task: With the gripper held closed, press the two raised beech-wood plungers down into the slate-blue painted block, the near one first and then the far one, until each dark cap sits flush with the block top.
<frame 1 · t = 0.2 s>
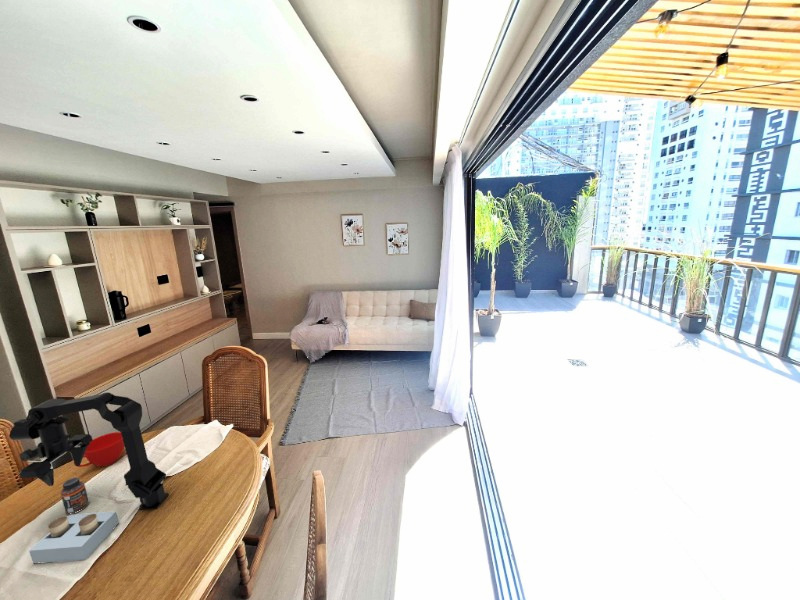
hand: (65, 475, 107), 14 cm above the table, fingers open, 9 cm apart
block: (79, 542, 97), on the table
plunger far: (59, 527, 96), point 6 cm above the table, slide at 3.5 cm
plunger near: (89, 524, 96), point 6 cm above the table, slide at 3.5 cm
supplement bottle: (78, 508, 110), on the table
ceramic cup: (103, 464, 132), on the table
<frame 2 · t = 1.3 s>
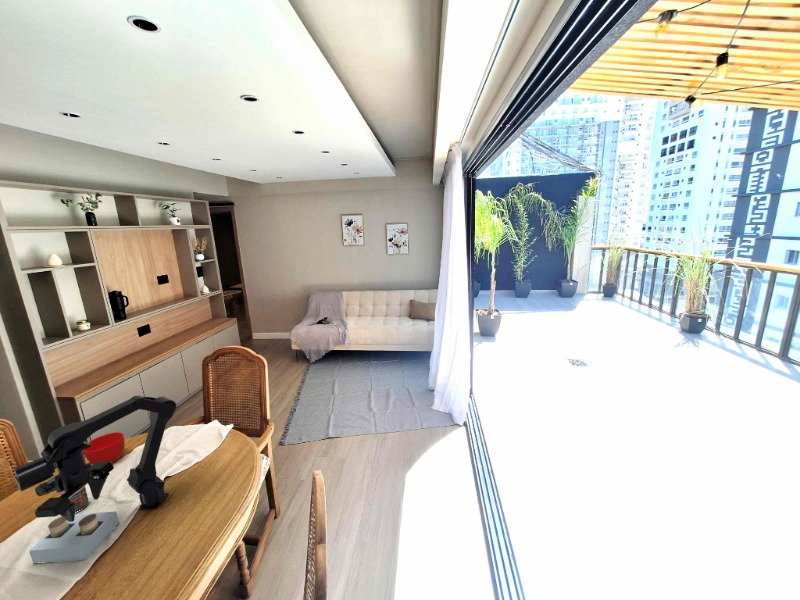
hand: (84, 509, 95), 12 cm above the table, fingers open, 8 cm apart
nothing on the table moved.
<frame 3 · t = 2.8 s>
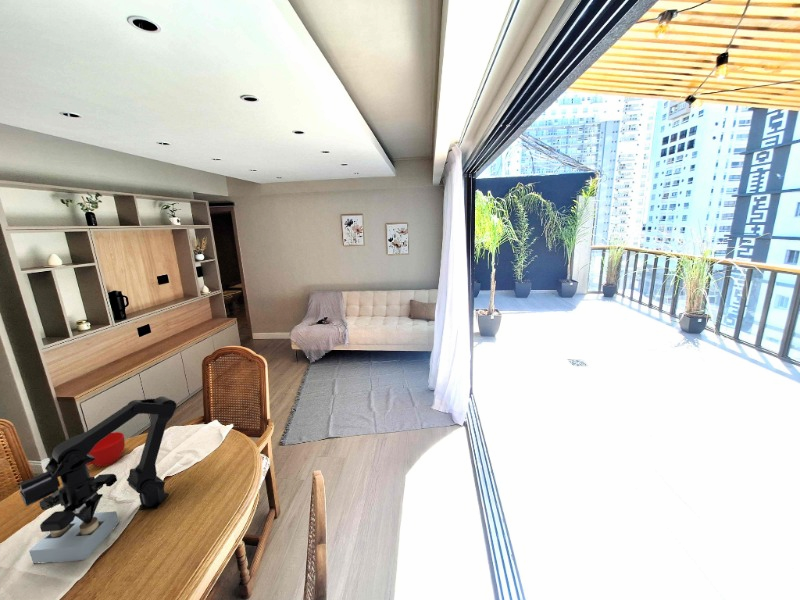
hand: (88, 522, 96), 7 cm above the table, fingers closed, pressing on plunger near
plunger near: (89, 527, 96), point 5 cm above the table, slide at 2.3 cm, touching gripper
everything else where it was.
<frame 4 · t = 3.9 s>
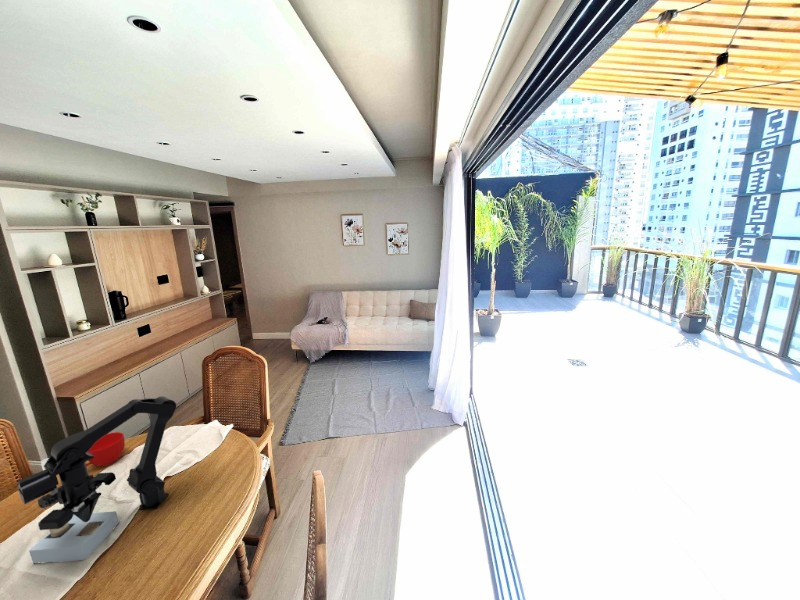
hand: (86, 521, 96), 8 cm above the table, fingers closed
plunger near: (91, 533, 97), point 3 cm above the table, slide at 0.3 cm
everything else where it was.
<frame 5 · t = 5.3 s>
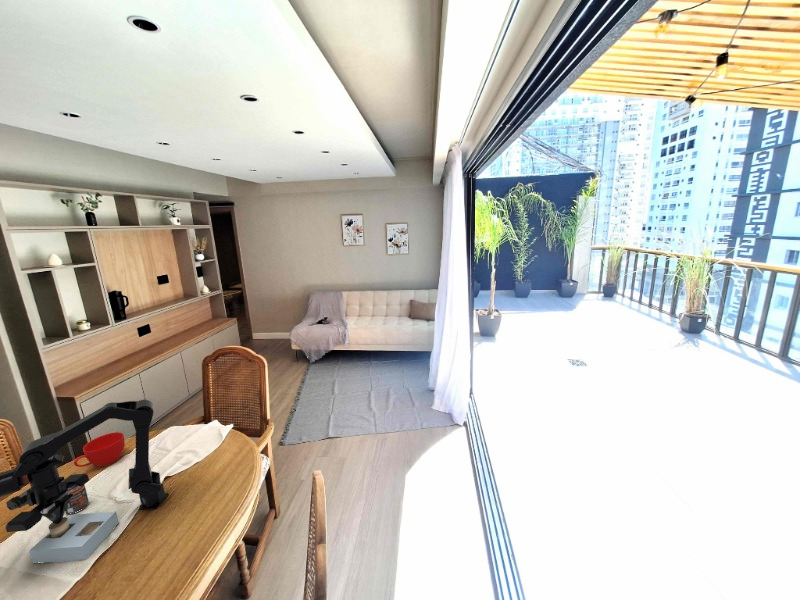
hand: (58, 522, 95), 8 cm above the table, fingers closed, pressing on plunger far
plunger far: (59, 528, 96), point 6 cm above the table, slide at 3.1 cm, touching gripper
everything else where it was.
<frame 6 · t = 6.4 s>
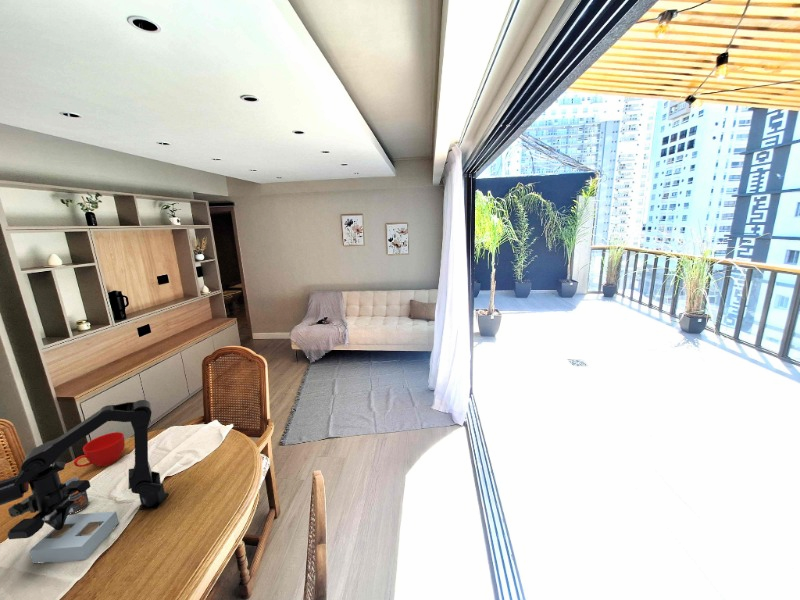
hand: (59, 529, 96), 6 cm above the table, fingers closed
plunger far: (61, 535, 96), point 3 cm above the table, slide at 0.3 cm
everything else where it was.
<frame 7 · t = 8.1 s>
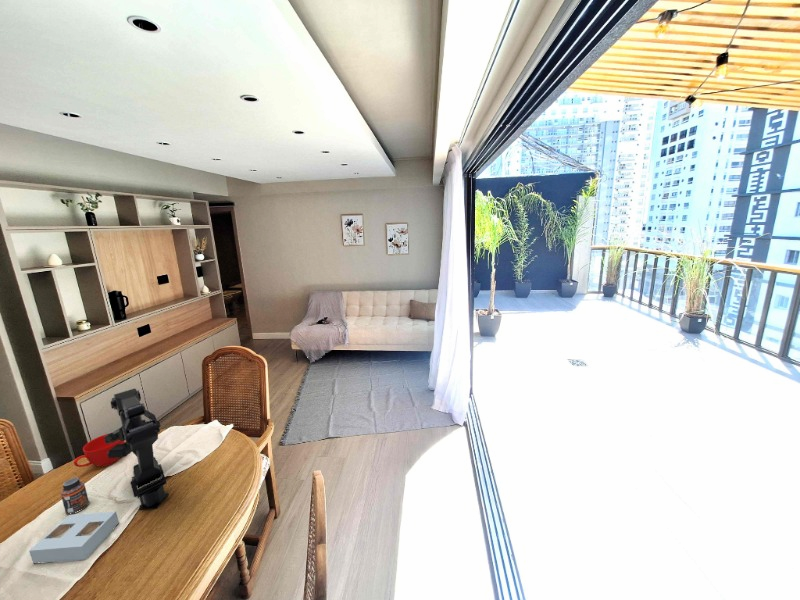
hand: (140, 457, 118), 12 cm above the table, fingers closed
nothing on the table moved.
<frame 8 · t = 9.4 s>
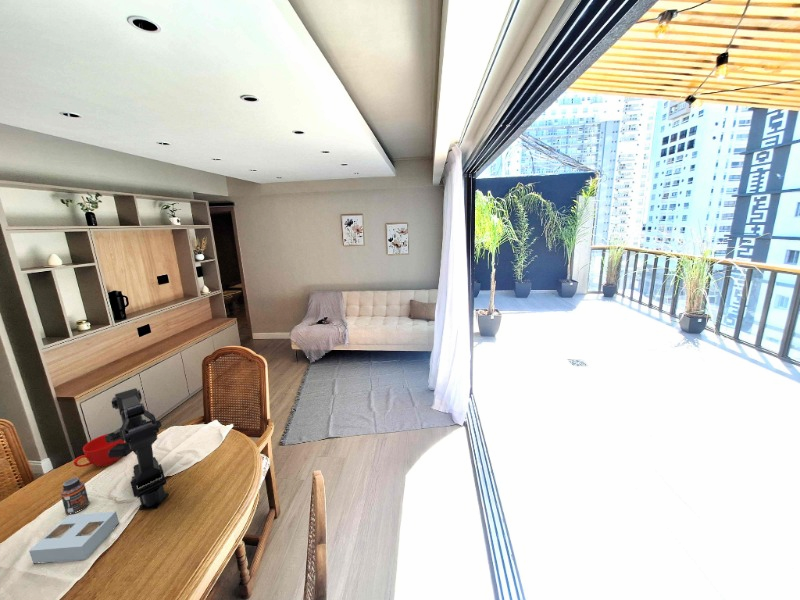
hand: (141, 456, 118), 12 cm above the table, fingers closed
nothing on the table moved.
at the end: plunger near slide at 0.3 cm; plunger far slide at 0.3 cm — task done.
